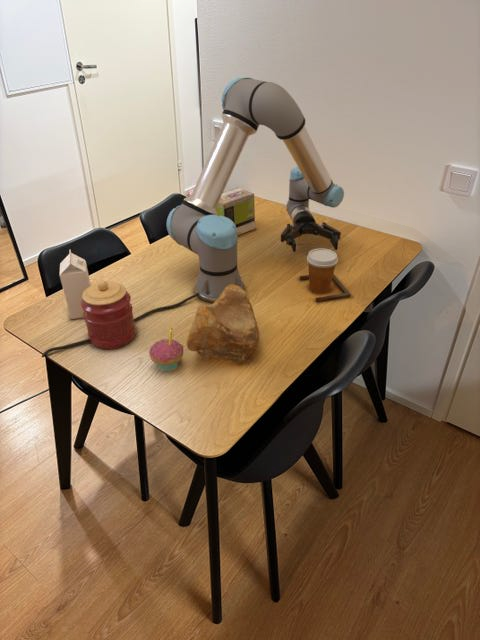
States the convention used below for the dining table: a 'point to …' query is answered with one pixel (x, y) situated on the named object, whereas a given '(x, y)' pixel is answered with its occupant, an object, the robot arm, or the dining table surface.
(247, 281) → the dining table surface
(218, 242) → the robot arm
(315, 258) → the disposable coffee cup
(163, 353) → the cupcake
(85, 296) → the kitchen canister
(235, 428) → the dining table surface
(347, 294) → the walnut frame
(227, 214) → the tea box
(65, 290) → the milk carton
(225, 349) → the rough brown rock
